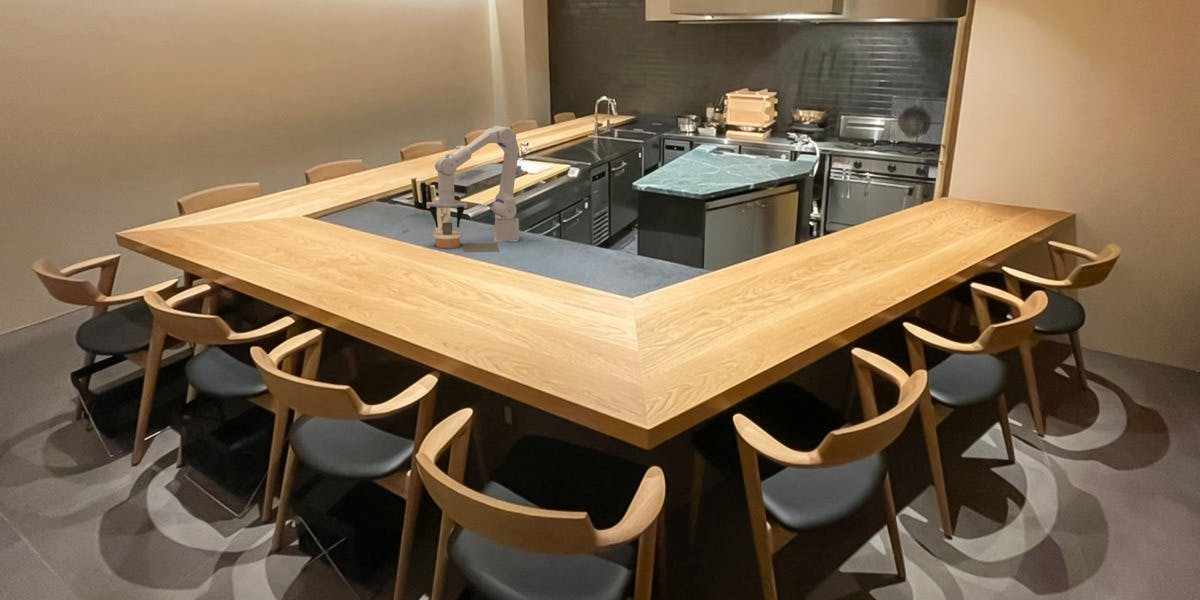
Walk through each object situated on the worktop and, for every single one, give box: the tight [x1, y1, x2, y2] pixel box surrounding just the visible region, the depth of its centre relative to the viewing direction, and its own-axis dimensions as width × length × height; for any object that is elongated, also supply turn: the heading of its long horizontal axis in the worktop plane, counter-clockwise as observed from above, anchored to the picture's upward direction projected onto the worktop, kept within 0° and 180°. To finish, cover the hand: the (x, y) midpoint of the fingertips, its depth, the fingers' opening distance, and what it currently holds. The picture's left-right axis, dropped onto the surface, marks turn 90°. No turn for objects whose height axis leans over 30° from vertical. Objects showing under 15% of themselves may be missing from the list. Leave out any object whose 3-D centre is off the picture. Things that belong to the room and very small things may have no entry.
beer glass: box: [432, 196, 451, 232], centre depth 267 cm, size 7×7×15 cm
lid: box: [431, 221, 463, 239], centre depth 251 cm, size 11×11×5 cm
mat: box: [462, 242, 500, 253], centre depth 252 cm, size 13×13×1 cm
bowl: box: [435, 238, 461, 249], centre depth 252 cm, size 9×9×4 cm
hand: (447, 227), depth 251 cm, fingers open, 7 cm apart
